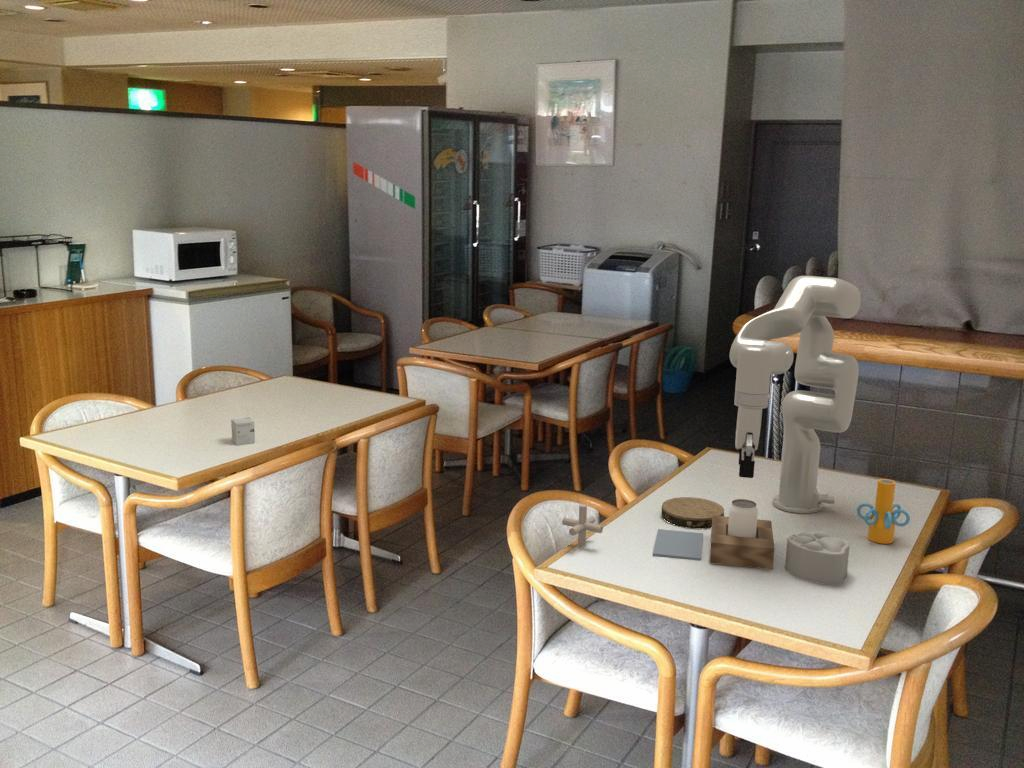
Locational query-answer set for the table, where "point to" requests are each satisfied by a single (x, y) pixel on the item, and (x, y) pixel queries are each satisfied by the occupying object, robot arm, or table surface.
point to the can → (743, 518)
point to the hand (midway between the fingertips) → (745, 471)
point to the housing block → (742, 545)
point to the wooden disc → (691, 512)
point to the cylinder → (883, 514)
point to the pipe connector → (582, 525)
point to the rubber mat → (678, 544)
